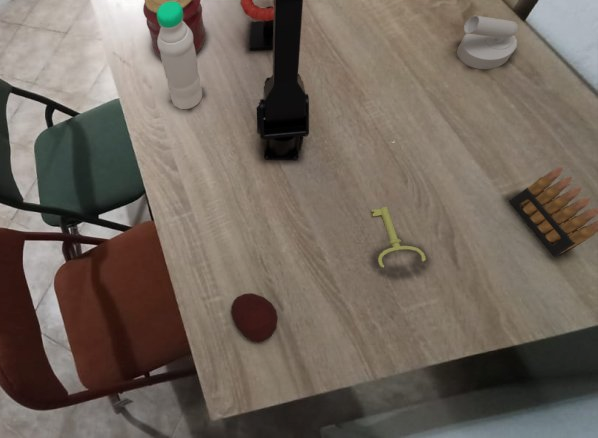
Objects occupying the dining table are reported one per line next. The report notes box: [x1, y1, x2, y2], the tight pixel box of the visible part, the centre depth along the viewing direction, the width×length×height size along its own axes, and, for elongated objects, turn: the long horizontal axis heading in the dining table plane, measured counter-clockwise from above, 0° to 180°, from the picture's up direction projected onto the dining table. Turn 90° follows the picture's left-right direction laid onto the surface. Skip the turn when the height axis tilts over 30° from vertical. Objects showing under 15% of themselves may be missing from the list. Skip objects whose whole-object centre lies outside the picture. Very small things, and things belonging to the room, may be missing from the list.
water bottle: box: [157, 1, 203, 110], centre depth 90 cm, size 7×7×25 cm
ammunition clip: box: [508, 166, 598, 257], centre depth 66 cm, size 11×2×12 cm, turn 16°
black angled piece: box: [249, 5, 274, 52], centre depth 99 cm, size 8×8×8 cm
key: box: [370, 206, 427, 268], centre depth 76 cm, size 7×12×2 cm, turn 23°
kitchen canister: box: [142, 0, 206, 59], centre depth 101 cm, size 13×13×18 cm
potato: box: [230, 292, 279, 343], centre depth 75 cm, size 7×8×6 cm
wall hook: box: [456, 15, 519, 70], centre depth 82 cm, size 9×10×10 cm
